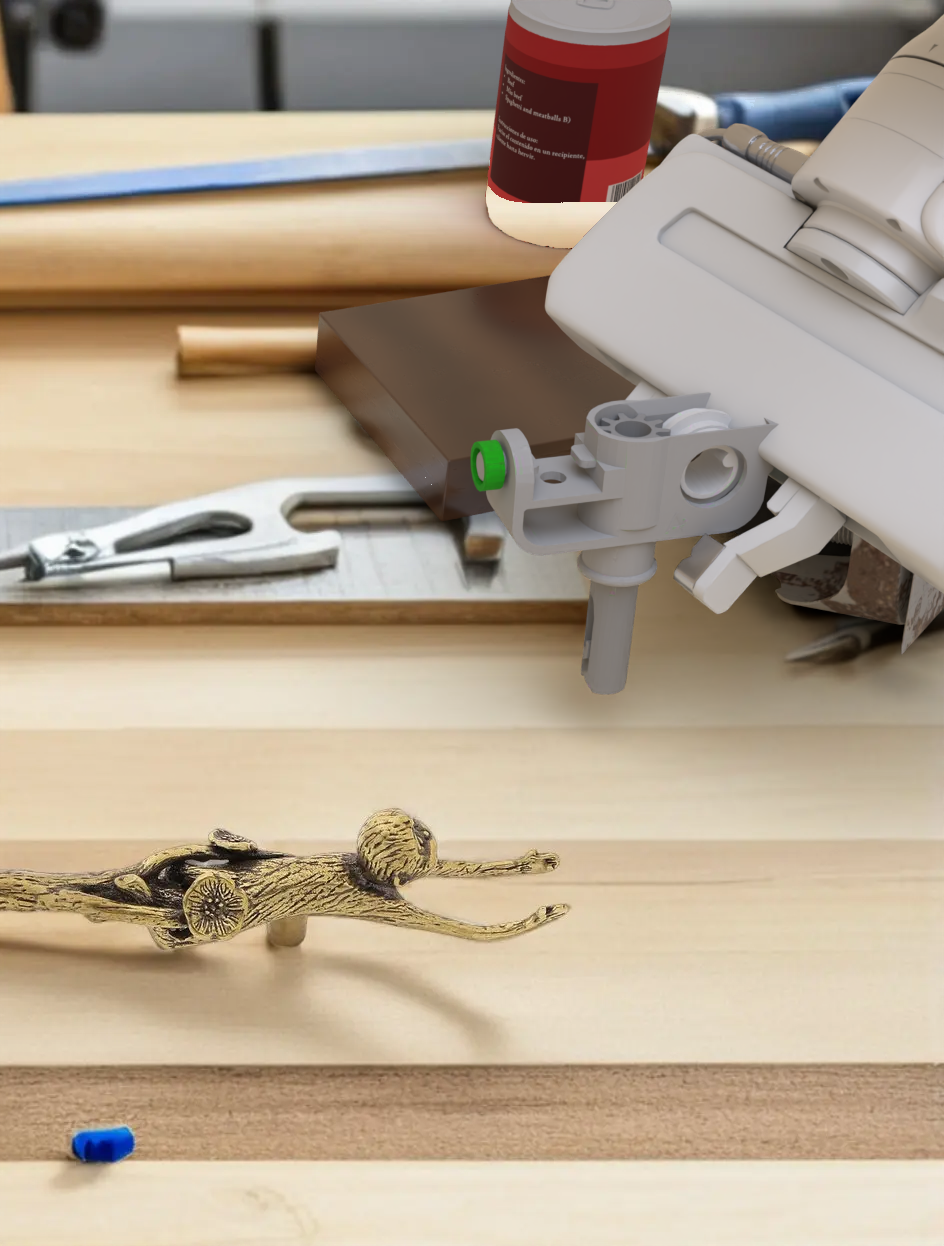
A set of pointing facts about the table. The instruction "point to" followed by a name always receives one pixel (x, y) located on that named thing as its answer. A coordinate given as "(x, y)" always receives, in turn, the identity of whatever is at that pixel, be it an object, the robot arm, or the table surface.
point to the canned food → (576, 98)
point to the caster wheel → (854, 580)
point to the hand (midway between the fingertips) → (646, 561)
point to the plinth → (461, 382)
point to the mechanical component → (624, 502)
